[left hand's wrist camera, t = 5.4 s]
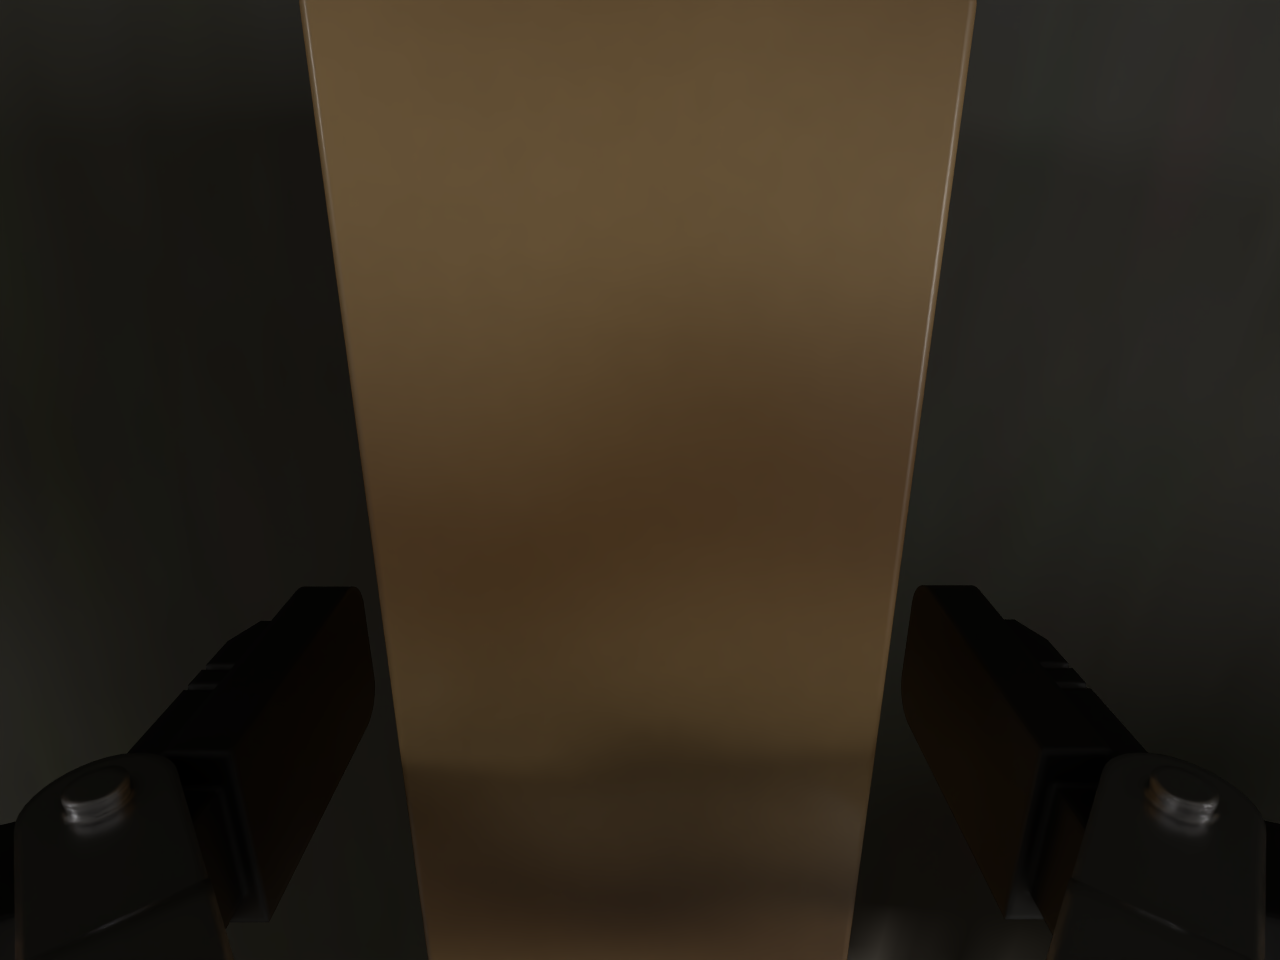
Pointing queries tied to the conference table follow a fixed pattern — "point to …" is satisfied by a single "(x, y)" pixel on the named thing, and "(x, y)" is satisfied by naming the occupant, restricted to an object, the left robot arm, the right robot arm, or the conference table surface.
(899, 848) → the conference table surface
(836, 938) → the post
